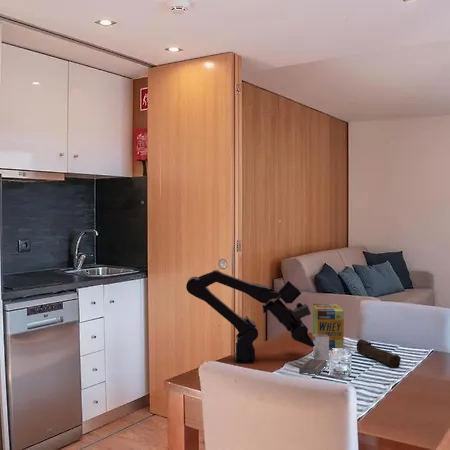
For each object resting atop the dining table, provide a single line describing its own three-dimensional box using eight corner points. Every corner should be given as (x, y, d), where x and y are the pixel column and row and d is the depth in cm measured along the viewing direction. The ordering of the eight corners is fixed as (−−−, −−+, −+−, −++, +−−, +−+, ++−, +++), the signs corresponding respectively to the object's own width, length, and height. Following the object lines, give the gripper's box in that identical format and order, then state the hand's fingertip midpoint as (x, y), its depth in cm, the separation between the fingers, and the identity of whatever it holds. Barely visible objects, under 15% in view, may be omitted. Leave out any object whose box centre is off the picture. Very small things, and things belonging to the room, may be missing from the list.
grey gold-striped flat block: (316, 376, 174) (316, 369, 174) (299, 373, 176) (299, 366, 176) (326, 366, 184) (326, 359, 184) (310, 364, 187) (310, 357, 187)
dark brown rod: (401, 368, 183) (401, 352, 183) (389, 369, 181) (390, 353, 181) (364, 351, 204) (364, 337, 204) (353, 352, 203) (354, 338, 203)
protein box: (317, 350, 206) (317, 310, 206) (312, 340, 221) (312, 303, 221) (344, 350, 206) (344, 310, 205) (337, 340, 221) (337, 303, 221)
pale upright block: (328, 361, 190) (328, 336, 190) (315, 361, 190) (315, 336, 190) (326, 358, 194) (326, 334, 194) (313, 358, 194) (313, 334, 194)
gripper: (301, 301, 182) (332, 333, 183) (293, 293, 201) (322, 322, 201) (278, 324, 182) (310, 355, 183) (272, 313, 201) (301, 342, 201)
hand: (311, 342), depth 192 cm, fingers open, 9 cm apart
